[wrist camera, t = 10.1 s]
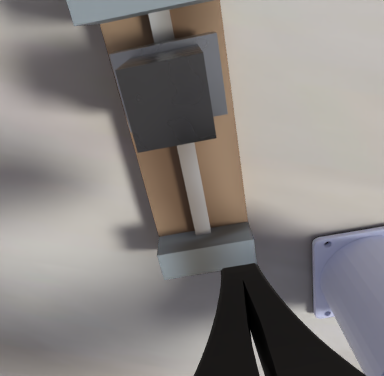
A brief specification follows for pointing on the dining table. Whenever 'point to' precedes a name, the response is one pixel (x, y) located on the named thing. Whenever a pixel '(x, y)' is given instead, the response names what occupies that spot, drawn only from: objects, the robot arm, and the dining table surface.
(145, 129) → the block
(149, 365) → the dining table surface
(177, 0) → the cabinet
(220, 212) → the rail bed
